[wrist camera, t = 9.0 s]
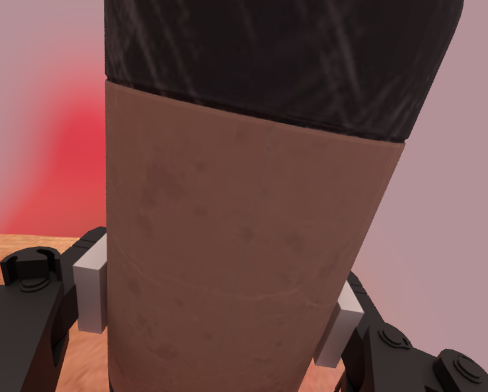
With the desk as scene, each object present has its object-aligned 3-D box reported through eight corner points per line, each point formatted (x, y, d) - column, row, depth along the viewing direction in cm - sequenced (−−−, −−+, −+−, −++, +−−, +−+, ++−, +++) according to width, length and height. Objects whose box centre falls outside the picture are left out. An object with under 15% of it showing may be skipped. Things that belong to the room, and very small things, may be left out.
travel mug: (219, 620, 9) (731, -200, 1) (71, 489, 11) (-30, -128, 4) (272, 403, 16) (412, 60, 8) (174, 347, 18) (214, 32, 10)
